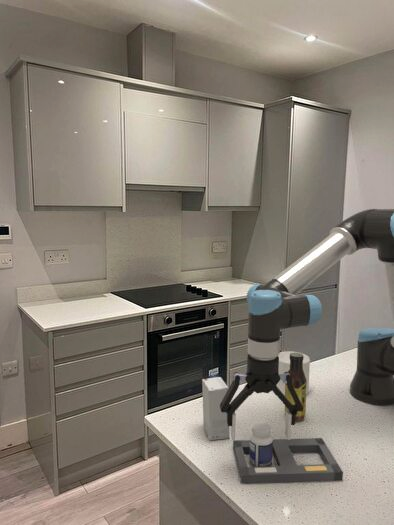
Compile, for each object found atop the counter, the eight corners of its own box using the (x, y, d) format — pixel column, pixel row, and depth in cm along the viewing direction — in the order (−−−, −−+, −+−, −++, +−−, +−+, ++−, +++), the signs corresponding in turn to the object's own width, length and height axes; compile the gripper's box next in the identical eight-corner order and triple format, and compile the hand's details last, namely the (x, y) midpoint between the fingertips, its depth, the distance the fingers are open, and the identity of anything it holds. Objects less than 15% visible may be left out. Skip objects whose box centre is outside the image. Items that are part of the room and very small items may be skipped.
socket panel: (321, 445, 109) (321, 437, 109) (342, 480, 95) (342, 471, 95) (233, 448, 108) (233, 439, 108) (241, 483, 94) (241, 474, 94)
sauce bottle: (305, 423, 120) (308, 359, 117) (284, 421, 121) (286, 358, 118) (304, 412, 126) (307, 351, 123) (284, 410, 128) (286, 350, 125)
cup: (294, 401, 134) (295, 366, 132) (267, 389, 143) (268, 356, 141) (315, 391, 141) (316, 358, 139) (288, 380, 150) (289, 348, 148)
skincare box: (229, 438, 112) (230, 388, 110) (208, 441, 111) (209, 390, 109) (221, 423, 120) (221, 375, 118) (201, 425, 119) (201, 377, 117)
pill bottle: (274, 460, 103) (275, 424, 101) (268, 474, 98) (269, 435, 96) (252, 454, 105) (253, 419, 104) (246, 467, 100) (246, 430, 99)
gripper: (309, 349, 102) (305, 428, 104) (210, 349, 100) (209, 429, 103) (319, 360, 94) (315, 444, 97) (212, 361, 93) (211, 446, 96)
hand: (260, 437), depth 100 cm, fingers open, 13 cm apart
